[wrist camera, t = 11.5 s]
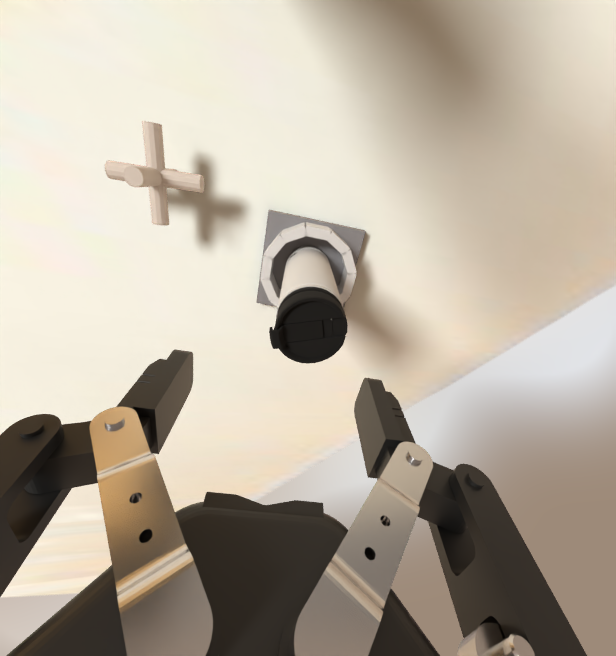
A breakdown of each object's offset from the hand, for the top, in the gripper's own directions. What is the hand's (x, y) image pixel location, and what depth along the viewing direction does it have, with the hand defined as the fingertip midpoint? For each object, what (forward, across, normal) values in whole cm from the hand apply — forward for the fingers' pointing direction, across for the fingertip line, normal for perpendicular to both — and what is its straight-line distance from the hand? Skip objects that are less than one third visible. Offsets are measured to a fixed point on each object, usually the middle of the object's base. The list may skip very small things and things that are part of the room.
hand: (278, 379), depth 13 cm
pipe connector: (+31, +16, -5) cm, 35 cm away
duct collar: (+31, -3, +3) cm, 31 cm away
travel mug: (+30, -2, +3) cm, 30 cm away
